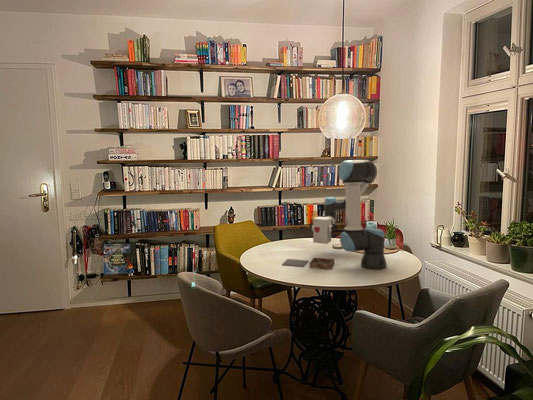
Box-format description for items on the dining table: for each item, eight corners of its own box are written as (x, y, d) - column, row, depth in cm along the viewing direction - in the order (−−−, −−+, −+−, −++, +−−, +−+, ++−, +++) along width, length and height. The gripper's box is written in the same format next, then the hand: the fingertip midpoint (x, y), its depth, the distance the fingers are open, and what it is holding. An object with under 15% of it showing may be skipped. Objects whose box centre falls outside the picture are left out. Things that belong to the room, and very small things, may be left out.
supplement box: (312, 242, 228) (312, 218, 226) (317, 239, 236) (317, 216, 234) (327, 244, 224) (327, 219, 222) (331, 241, 232) (331, 217, 230)
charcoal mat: (308, 261, 241) (308, 260, 241) (303, 267, 229) (303, 266, 229) (287, 259, 245) (287, 258, 245) (281, 265, 233) (281, 264, 233)
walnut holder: (334, 263, 235) (334, 258, 235) (330, 269, 223) (331, 264, 223) (314, 261, 240) (314, 257, 239) (309, 267, 228) (309, 262, 227)
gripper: (344, 229, 242) (339, 236, 221) (310, 227, 250) (302, 233, 229) (344, 217, 242) (339, 223, 221) (310, 216, 249) (302, 221, 228)
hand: (321, 228), depth 225 cm, fingers closed on supplement box, 10 cm apart
